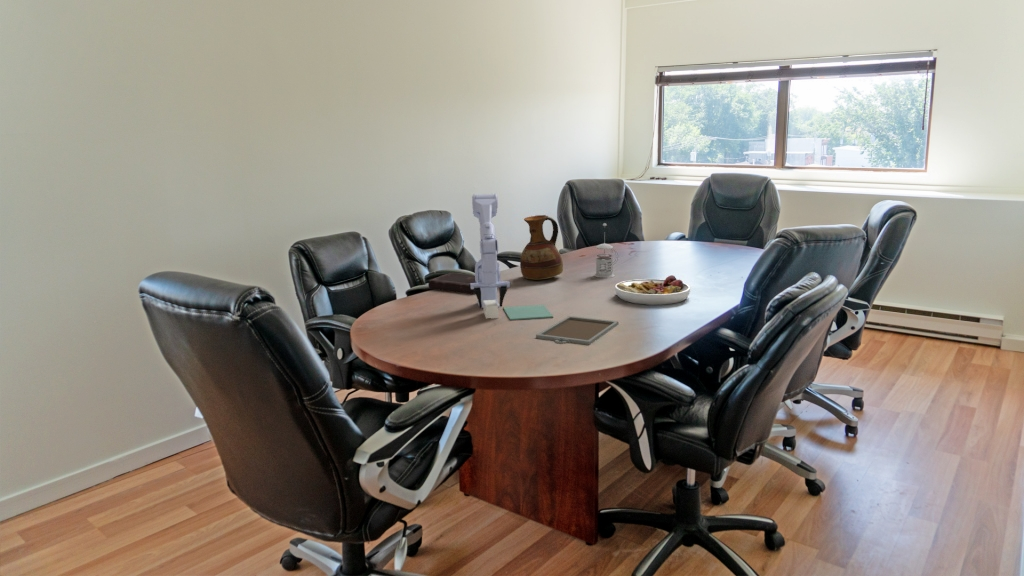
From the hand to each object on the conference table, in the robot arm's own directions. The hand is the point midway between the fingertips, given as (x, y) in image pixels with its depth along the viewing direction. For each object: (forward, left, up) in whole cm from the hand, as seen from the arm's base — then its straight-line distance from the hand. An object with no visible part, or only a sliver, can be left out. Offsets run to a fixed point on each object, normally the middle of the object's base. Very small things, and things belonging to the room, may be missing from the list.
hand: (490, 306), depth 258 cm
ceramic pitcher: (-63, +32, -4) cm, 71 cm away
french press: (-62, +63, -4) cm, 89 cm away
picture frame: (+29, +26, -4) cm, 39 cm away
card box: (0, 0, -4) cm, 4 cm away
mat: (0, +14, -3) cm, 14 cm away
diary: (-52, -6, -4) cm, 52 cm away
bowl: (-13, +68, -4) cm, 69 cm away
